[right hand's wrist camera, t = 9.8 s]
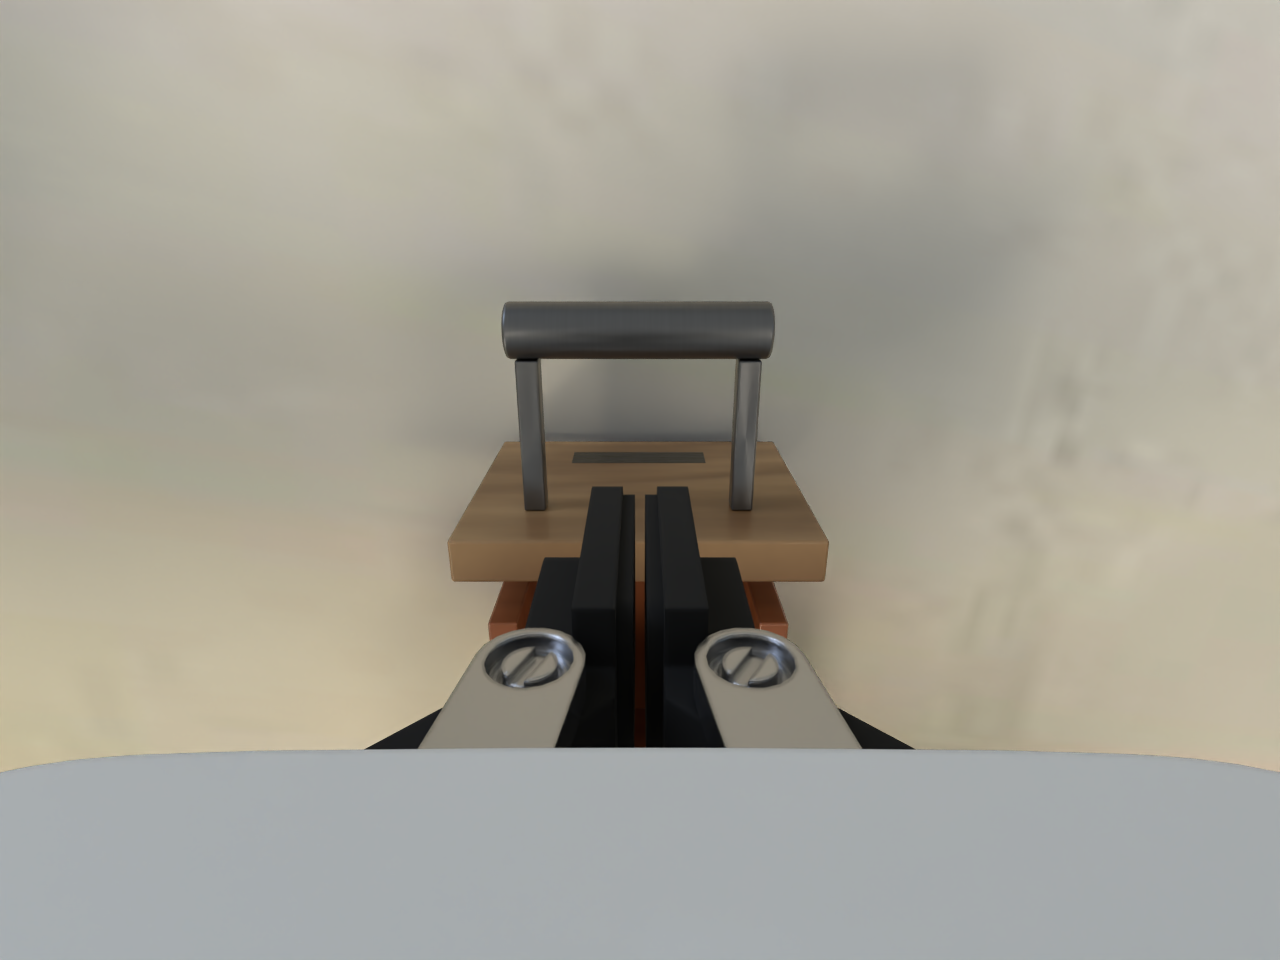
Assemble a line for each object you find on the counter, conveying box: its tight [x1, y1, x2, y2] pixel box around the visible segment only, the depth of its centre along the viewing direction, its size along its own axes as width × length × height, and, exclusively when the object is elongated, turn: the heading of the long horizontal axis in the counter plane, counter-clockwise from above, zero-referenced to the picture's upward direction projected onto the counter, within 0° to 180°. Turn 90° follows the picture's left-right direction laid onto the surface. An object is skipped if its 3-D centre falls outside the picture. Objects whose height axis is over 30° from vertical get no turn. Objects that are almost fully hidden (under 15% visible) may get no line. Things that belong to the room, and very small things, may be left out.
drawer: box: [448, 302, 829, 748], centre depth 22 cm, size 17×10×8 cm, turn 0°
